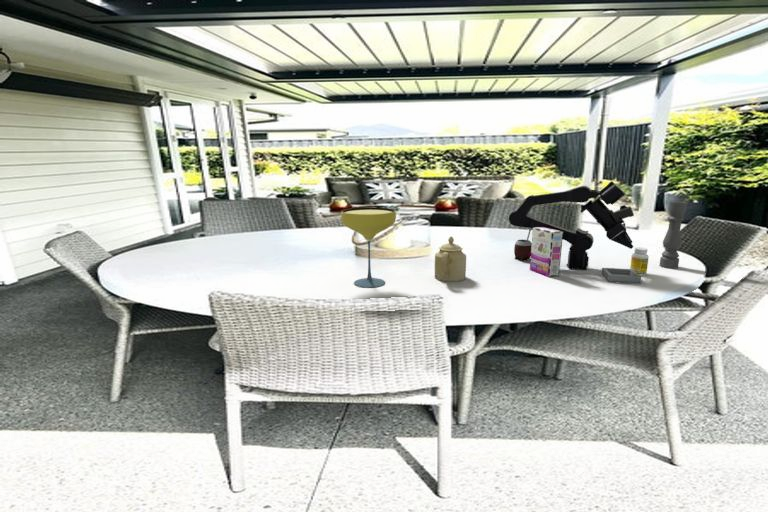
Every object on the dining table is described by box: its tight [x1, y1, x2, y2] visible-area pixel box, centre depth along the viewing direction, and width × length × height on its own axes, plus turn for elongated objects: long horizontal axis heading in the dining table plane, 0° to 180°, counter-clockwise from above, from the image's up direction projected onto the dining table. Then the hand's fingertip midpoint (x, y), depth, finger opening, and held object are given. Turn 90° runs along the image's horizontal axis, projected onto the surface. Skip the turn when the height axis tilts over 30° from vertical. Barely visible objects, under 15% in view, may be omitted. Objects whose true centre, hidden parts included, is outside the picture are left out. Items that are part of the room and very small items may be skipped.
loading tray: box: [600, 267, 642, 285], centre depth 155 cm, size 10×10×2 cm
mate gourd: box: [513, 228, 533, 262], centre depth 182 cm, size 8×8×15 cm
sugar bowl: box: [434, 235, 467, 283], centre depth 154 cm, size 15×11×15 cm
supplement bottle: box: [629, 247, 650, 277], centre depth 160 cm, size 5×5×10 cm
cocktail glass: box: [340, 206, 397, 289], centre depth 149 cm, size 18×18×25 cm
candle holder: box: [659, 200, 688, 270], centre depth 168 cm, size 6×6×25 cm
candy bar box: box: [529, 227, 564, 278], centre depth 161 cm, size 11×5×16 cm, turn 19°
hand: (631, 245), depth 160 cm, fingers open, 9 cm apart
